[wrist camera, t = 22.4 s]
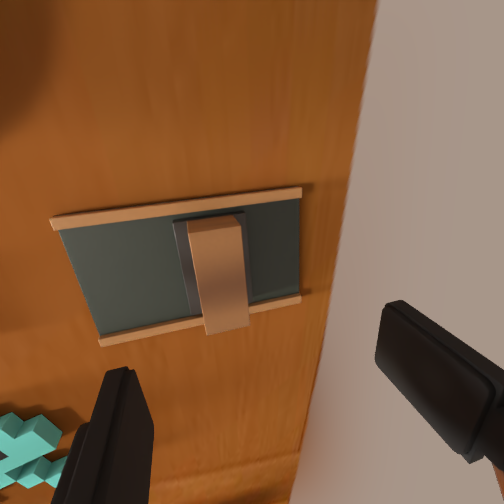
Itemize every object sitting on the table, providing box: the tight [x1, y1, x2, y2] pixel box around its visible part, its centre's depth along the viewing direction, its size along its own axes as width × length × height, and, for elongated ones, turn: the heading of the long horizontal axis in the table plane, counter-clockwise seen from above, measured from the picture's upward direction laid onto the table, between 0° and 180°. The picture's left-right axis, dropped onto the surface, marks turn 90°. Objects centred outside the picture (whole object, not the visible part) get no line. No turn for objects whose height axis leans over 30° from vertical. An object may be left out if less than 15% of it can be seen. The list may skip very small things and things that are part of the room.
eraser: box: [172, 211, 253, 336], centre depth 29 cm, size 12×8×6 cm, turn 5°
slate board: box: [49, 186, 302, 347], centre depth 31 cm, size 16×26×1 cm, turn 95°
